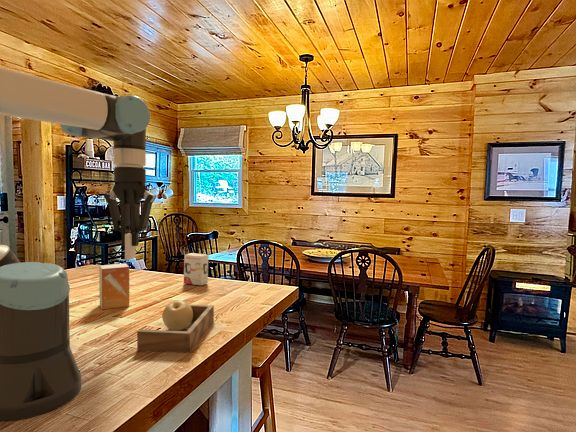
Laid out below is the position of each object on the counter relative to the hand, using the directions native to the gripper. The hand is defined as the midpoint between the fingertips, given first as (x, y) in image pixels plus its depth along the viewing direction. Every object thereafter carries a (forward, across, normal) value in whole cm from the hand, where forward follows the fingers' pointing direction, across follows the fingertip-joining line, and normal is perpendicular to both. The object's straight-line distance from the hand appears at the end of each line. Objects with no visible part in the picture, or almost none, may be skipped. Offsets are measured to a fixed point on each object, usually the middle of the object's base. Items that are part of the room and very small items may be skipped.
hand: (130, 258), depth 96 cm
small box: (+20, +16, -21) cm, 33 cm away
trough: (+20, -13, 0) cm, 24 cm away
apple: (+20, -11, -3) cm, 23 cm away
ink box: (+20, -1, -52) cm, 56 cm away
